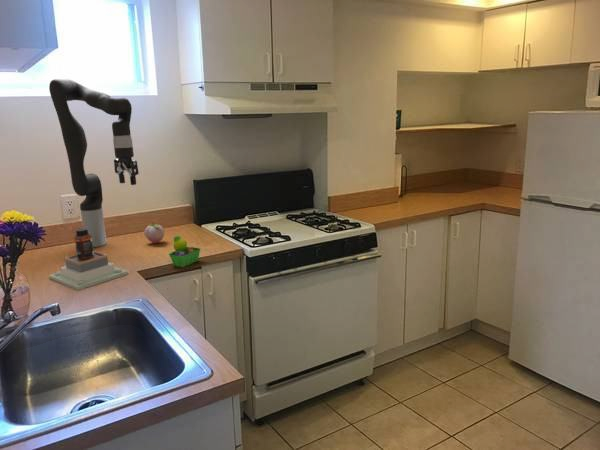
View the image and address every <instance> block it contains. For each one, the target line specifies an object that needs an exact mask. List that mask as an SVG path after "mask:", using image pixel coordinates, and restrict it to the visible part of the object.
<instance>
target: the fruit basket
mask: <svg viewBox="0 0 600 450" xmlns="http://www.w3.org/2000/svg"><path fill="white" fill-rule="evenodd" d="M172 245H173V249H174V250H175V251H172V252H170V253H168V256H169V257H170V260H171V262H172V265H173V266H176V267H180V268H184V267H187V266H189V265H191V264H194V263H195V262H198V261H199V257H200V253H201V248H200V247H193V246H187V245H188V242H187V240H185V239H184V238H183V237H181V236H180V235H175V236H174V237H173V243H172Z"/></svg>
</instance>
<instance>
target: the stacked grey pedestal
mask: <svg viewBox="0 0 600 450" xmlns="http://www.w3.org/2000/svg"><path fill="white" fill-rule="evenodd" d="M108 258H109V257H108V255H107V254H105V253H102V252H99V251H96V250H94V257H93V258H91V259H88V260H79V259H78V257H77V253H76V254H73V255H70V256H66V257H64V262H65V265H64V266H62V267H60V271H56V272H54V273H52V274H49V275H48V277H49V279H50V280H53V281H55V282H57V283H60V284H62V285H64V286H67V287H69V288H72V289H74V290H77V291H81V290H84V289H87V288H89V287H92V286H96V285H99V284H101V283H105V282H108V281H112V280H114V279H117V278H120V277H123V276H127V275H129V271H128V270H126V269H123V268H119V267H116V266H115V263H113V262H109V259H108Z"/></svg>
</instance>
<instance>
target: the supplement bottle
mask: <svg viewBox="0 0 600 450" xmlns="http://www.w3.org/2000/svg"><path fill="white" fill-rule="evenodd" d="M75 231H76V234H75V236H74V237H73V238H74V245H75V251H76V254H77V257H78V259H79V260H88V259H91V258H93V257H94V251H95V250H94V247H93V244H92V237H91V235H90V234H89V233H88V229H87V228H83V227H82V228H78V229H76V230H75Z"/></svg>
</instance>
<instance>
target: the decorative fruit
mask: <svg viewBox="0 0 600 450" xmlns="http://www.w3.org/2000/svg"><path fill="white" fill-rule="evenodd" d="M165 234H166V233H165V229H164V228H163V226H162V225H160V224H155V223H154V222H152V224H151V223H150V224H148V225H147V227H145V229H144V236H145V238H146V239H147V240H148V241H149V242H151V243H153V244H158V243H159V242H161V241H162V240H163V238H164V236H165Z"/></svg>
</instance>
